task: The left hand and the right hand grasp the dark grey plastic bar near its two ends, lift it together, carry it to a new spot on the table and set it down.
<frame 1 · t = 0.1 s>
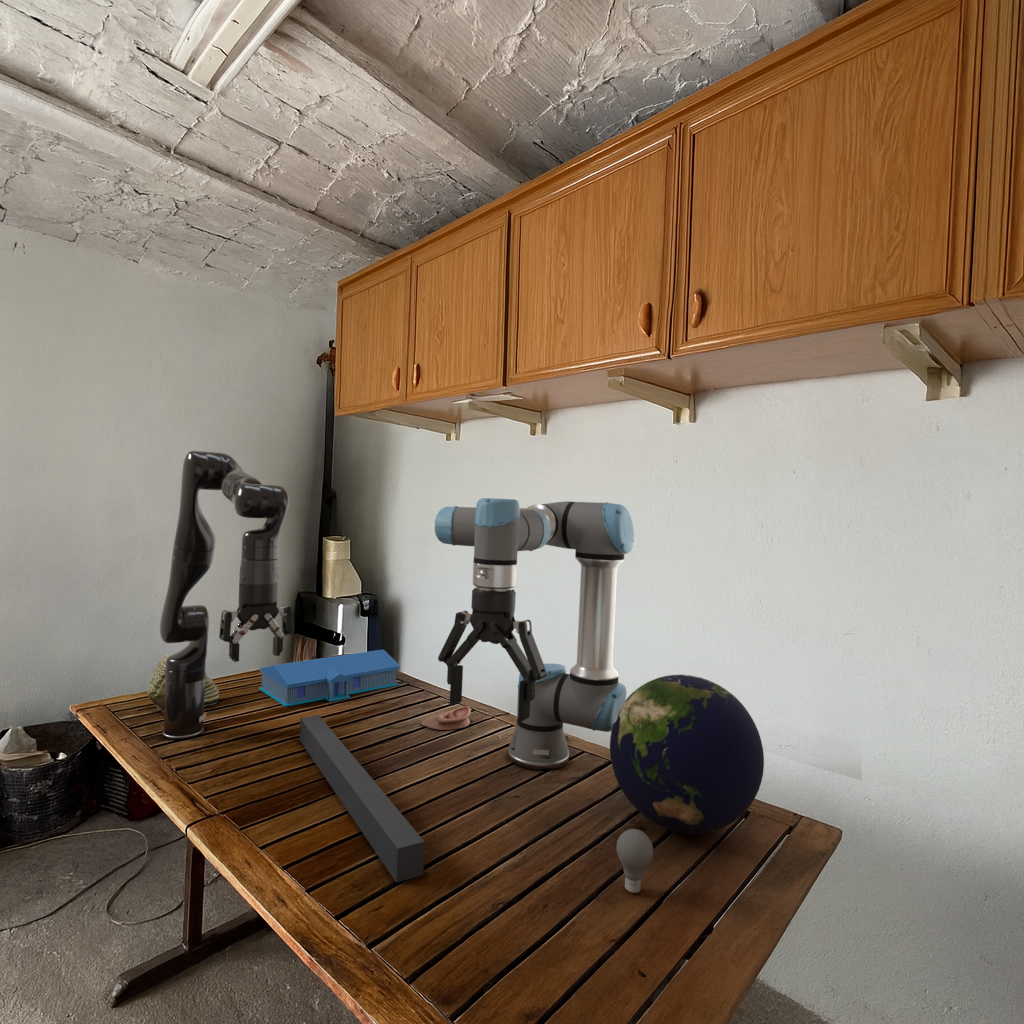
left hand: (256, 658, 132), 29 cm above the table, tool pointing down, fingers open, 8 cm apart
right hand: (488, 711, 109), 28 cm above the table, tool pointing down, fingers open, 13 cm apart
globe: (680, 825, 128), on the table
model building: (332, 688, 208), on the table
fossil: (183, 706, 185), on the table
bar: (348, 793, 136), on the table
anatomical model: (446, 723, 180), on the table
light bulb: (632, 891, 106), on the table
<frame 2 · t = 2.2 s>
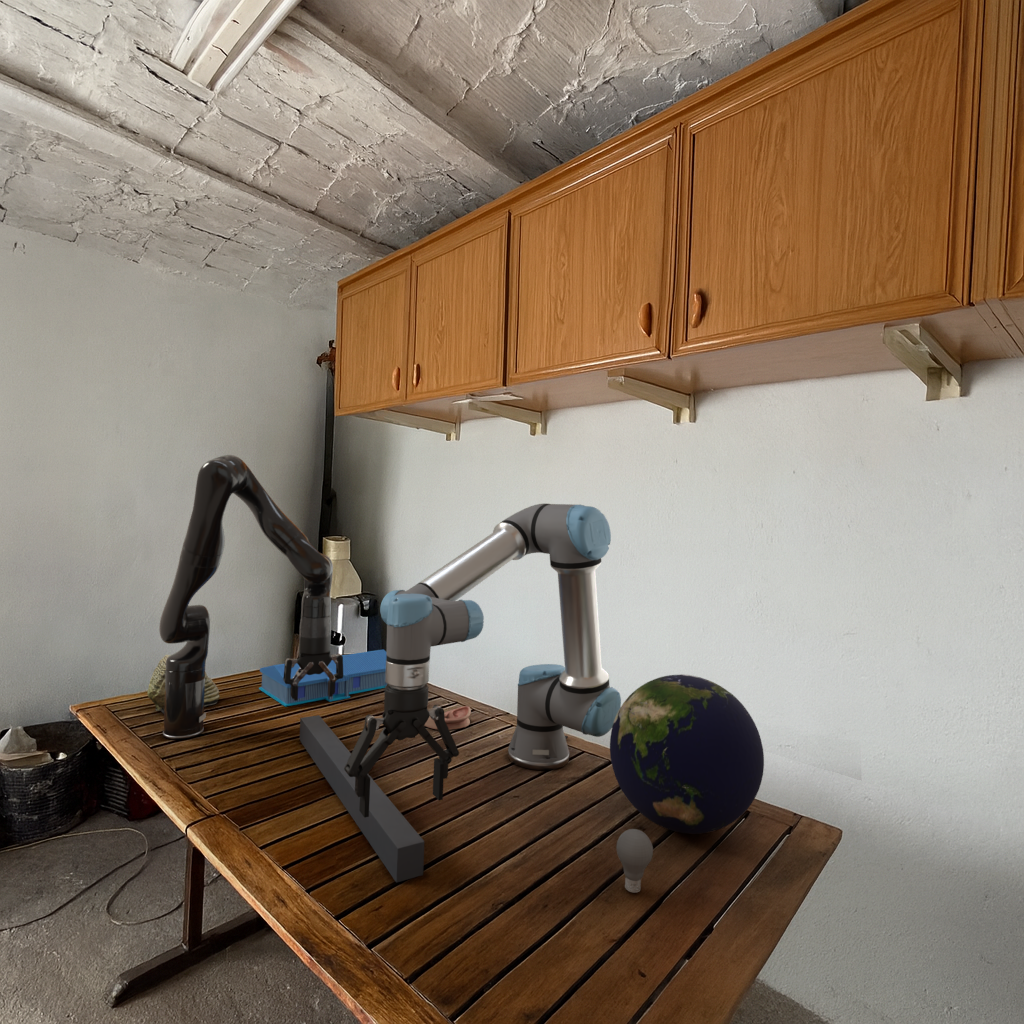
left hand: (313, 697, 159), 13 cm above the table, tool pointing down, fingers open, 8 cm apart
right hand: (402, 805, 110), 10 cm above the table, tool pointing down, fingers open, 13 cm apart
nothing on the table moved.
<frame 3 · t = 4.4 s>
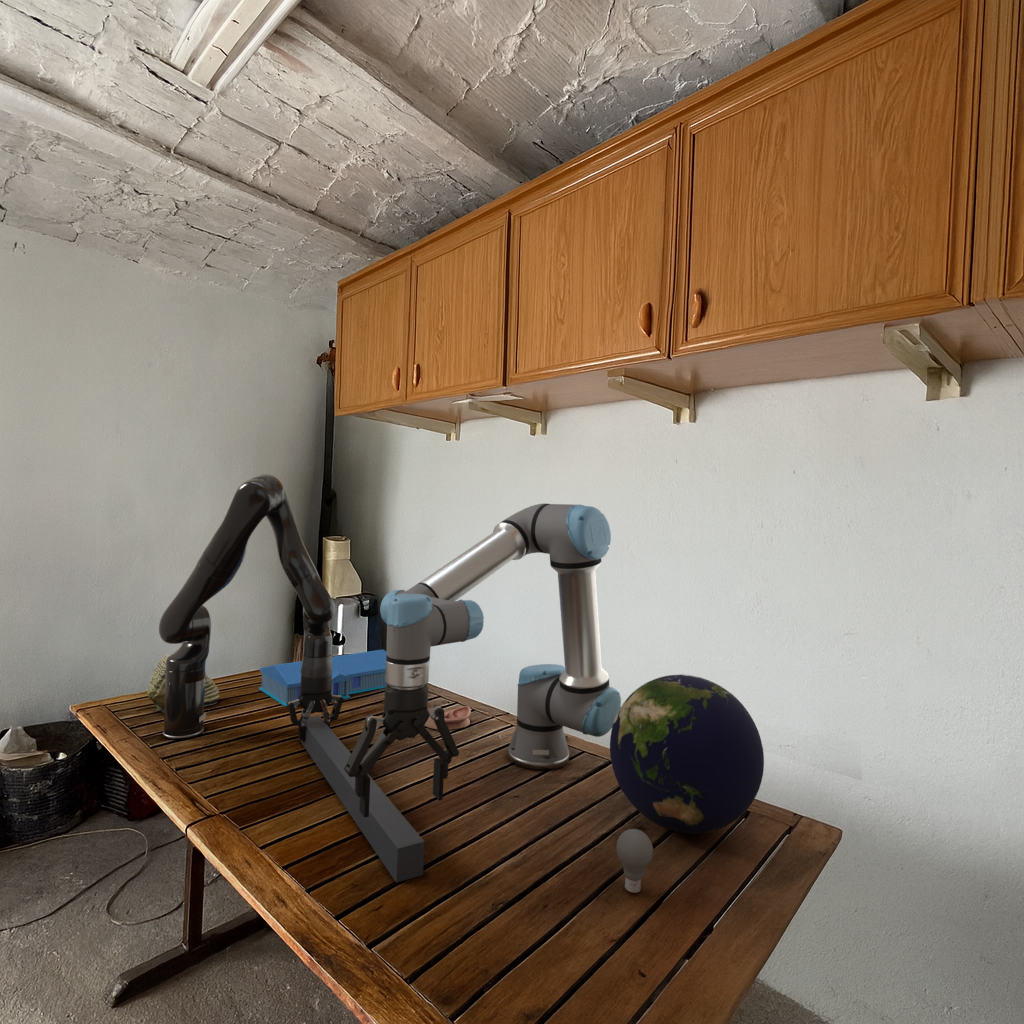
left hand: (314, 738, 161), 2 cm above the table, tool pointing down, fingers closed on bar, 5 cm apart
right hand: (402, 805, 110), 10 cm above the table, tool pointing down, fingers open, 13 cm apart
bar: (348, 793, 136), on the table, touching left hand
everything else where it was.
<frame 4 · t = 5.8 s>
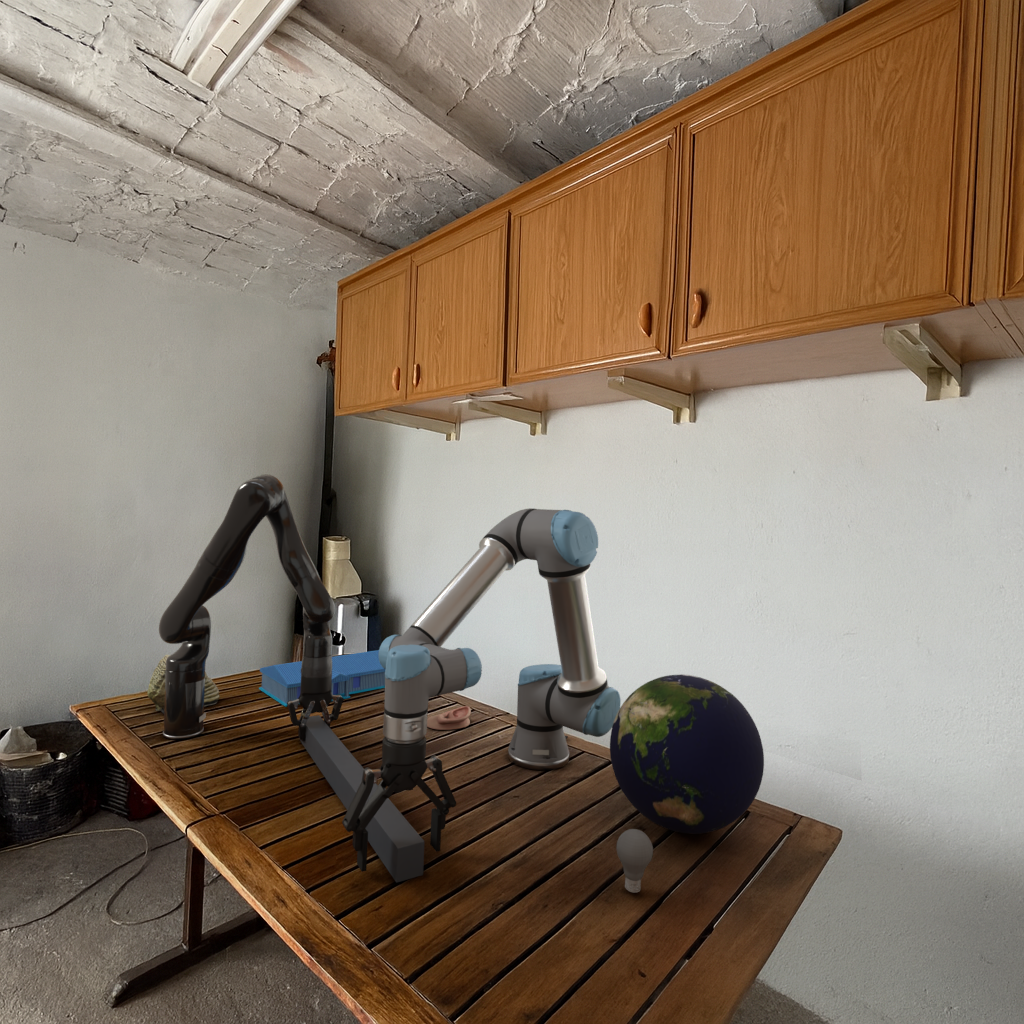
left hand: (314, 738, 161), 2 cm above the table, tool pointing down, fingers closed on bar, 5 cm apart
right hand: (399, 857, 111), 1 cm above the table, tool pointing down, fingers open, 13 cm apart
bar: (348, 793, 136), on the table, touching left hand
everything else where it was.
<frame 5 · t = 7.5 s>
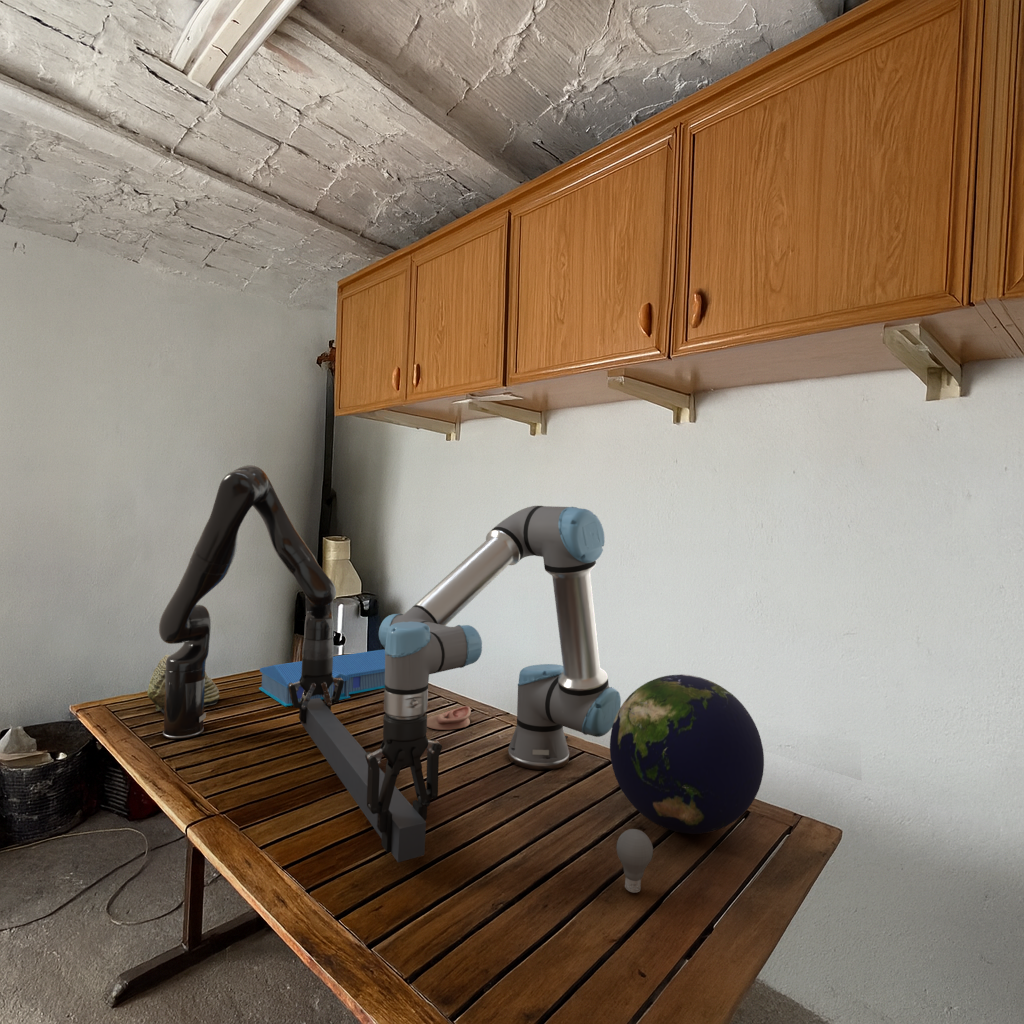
left hand: (314, 720, 161), 6 cm above the table, tool pointing down, fingers closed on bar, 5 cm apart
right hand: (401, 843, 111), 3 cm above the table, tool pointing down, fingers closed on bar, 5 cm apart
bar: (349, 775, 136), point 4 cm above the table, touching left hand, right hand
everything else where it was.
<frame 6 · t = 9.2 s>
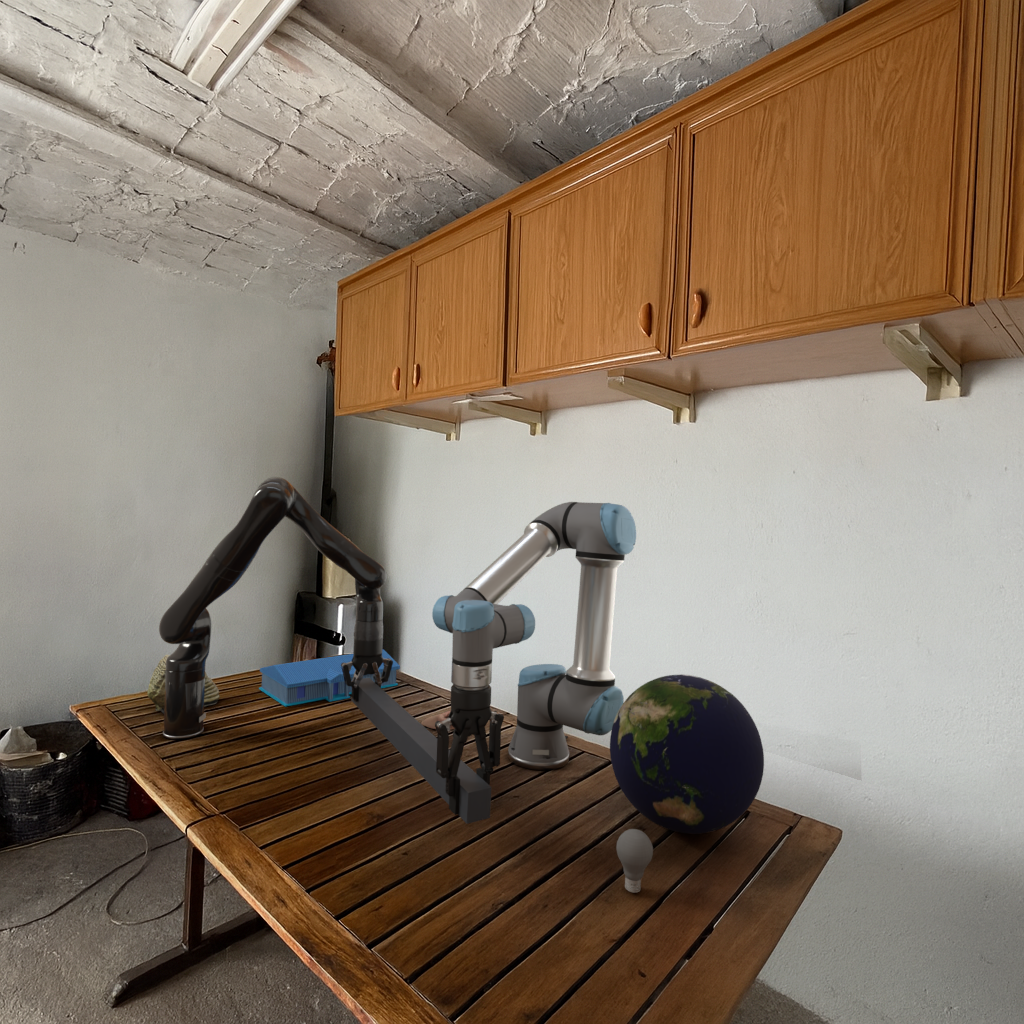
left hand: (366, 699, 169), 10 cm above the table, tool pointing down, fingers closed on bar, 5 cm apart
right hand: (467, 807, 119), 7 cm above the table, tool pointing down, fingers closed on bar, 5 cm apart
bar: (407, 747, 144), point 7 cm above the table, touching left hand, right hand
everything else where it was.
when the right hand's fingers open (1 cm above the table, at t = 10.9 s): bar stays where it is, on the table.
when the left hand's fingers open (3 cm above the table, at t = 11.1 s): bar stays where it is, on the table.
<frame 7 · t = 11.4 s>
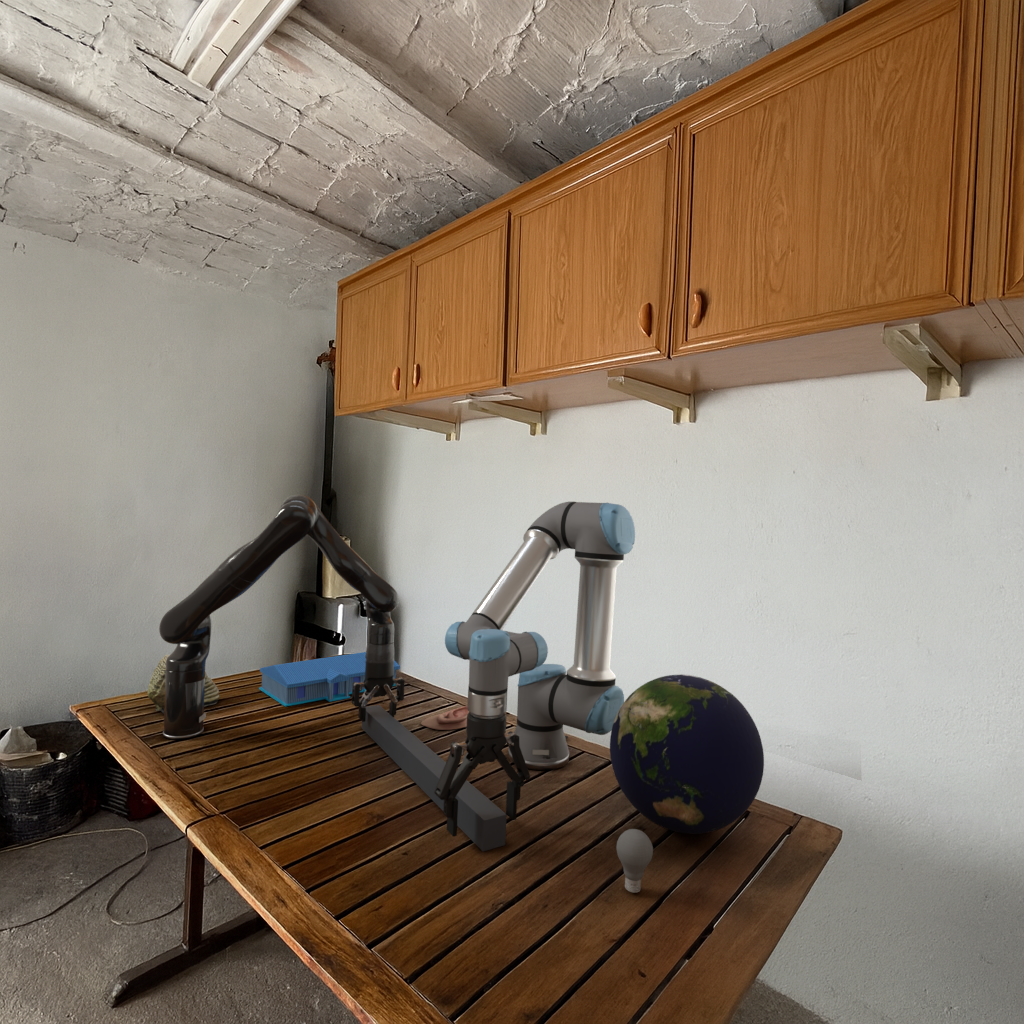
left hand: (377, 718, 171), 4 cm above the table, tool pointing down, fingers open, 7 cm apart
right hand: (482, 824, 121), 2 cm above the table, tool pointing down, fingers open, 12 cm apart
bar: (419, 775, 146), on the table
everything else where it was.
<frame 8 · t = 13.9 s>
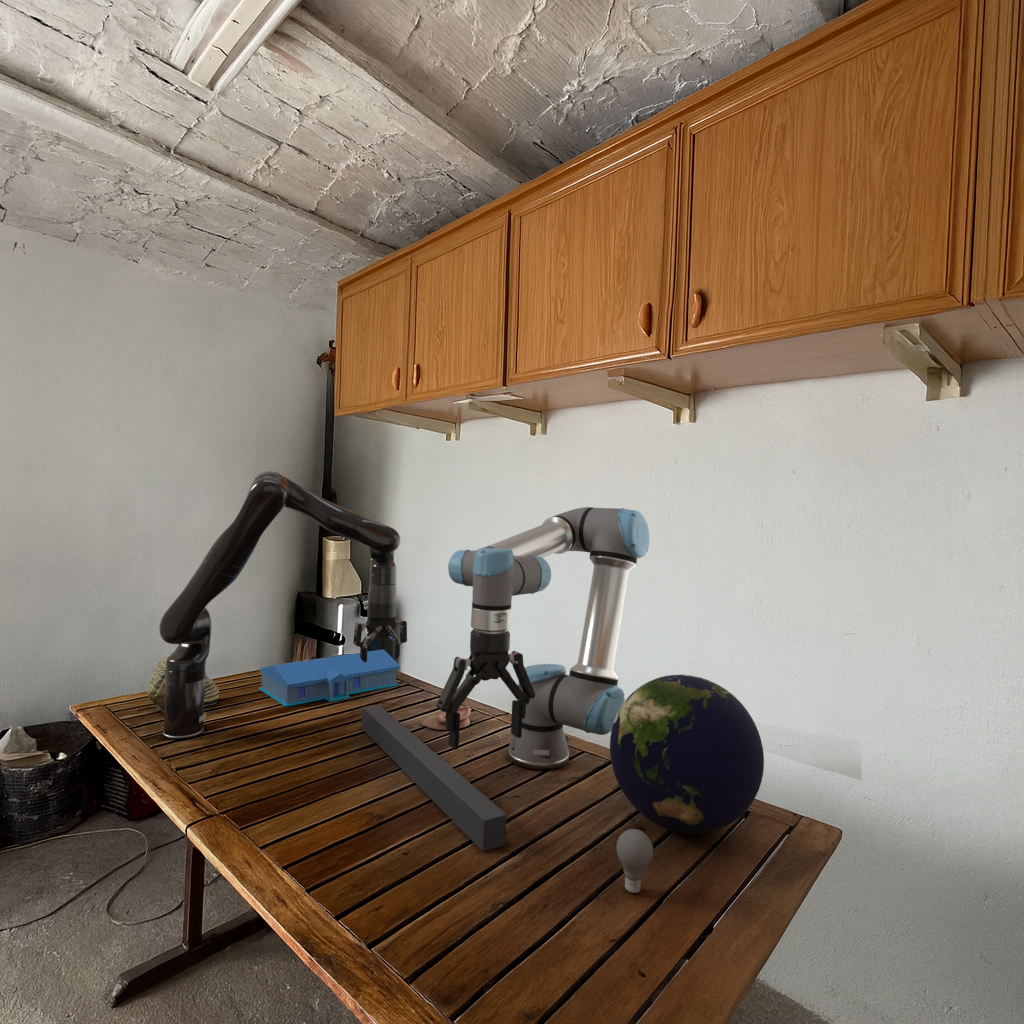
left hand: (379, 660, 171), 20 cm above the table, tool pointing down, fingers open, 8 cm apart
right hand: (485, 741, 120), 18 cm above the table, tool pointing down, fingers open, 13 cm apart
nothing on the table moved.
at the end: bar inside the target area (0.2 cm from its centre), on the table; bar tilted 0°; bar never tilted more than 2° during the clip; both hands held the bar at the same time; the left hand is holding nothing; the right hand is holding nothing; bar at rest at the end (0.0 cm/s) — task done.
